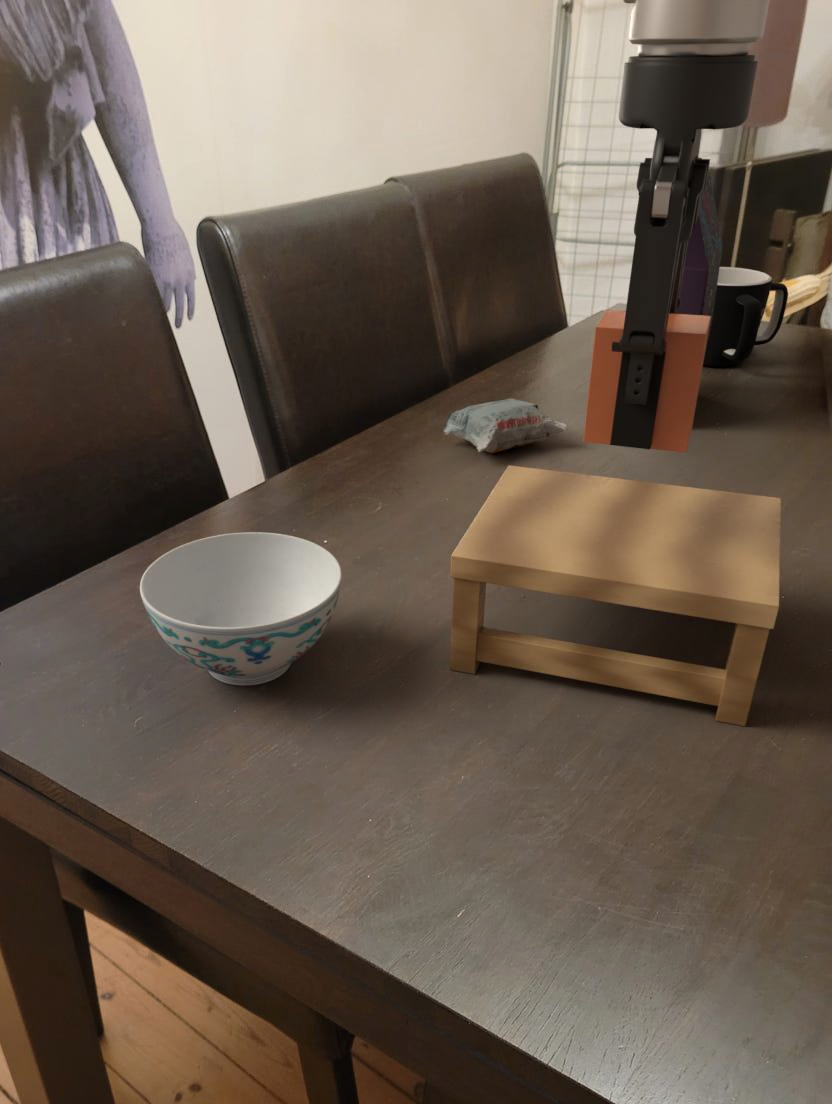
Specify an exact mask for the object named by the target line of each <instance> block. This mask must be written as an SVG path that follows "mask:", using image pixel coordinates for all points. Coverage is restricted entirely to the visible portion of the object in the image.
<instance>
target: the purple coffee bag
mask: <svg viewBox="0 0 832 1104" xmlns="http://www.w3.org/2000/svg"><path fill="white" fill-rule="evenodd" d="M722 251H723V241H722V235H721V229H720V224H719V218H718V213H717V207H716V201H715V195H714V189H713V184H712V178H711V173H710V170H709V171H708V178H707V181H706V185H705V188H704V190H703V192H702V194H701V197H700V203H699V210H698V217H697V221H696V225H695V228H694V229H693V231H692V234H691V237H690V238H689V240H688V246H687V252H686V259H685V265H684V271H683V278H682V284H681V290H680V296H679V297H680V299H681V302H680V306H679V307H678V309H677V311H676V314H687V315H703V316H711V320H710V326H709V332H708V338H707V343H708V339H709V334H710V329H711V325H712V318H713V311H714V304H715V297H716V289H717V282H718V275H719V268H720V267H721V259H722V254H723V253H722ZM707 343H706V348H707ZM705 352H706V349H705ZM704 357H705V355H704ZM703 362H704V361H703Z"/></svg>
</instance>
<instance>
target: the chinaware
mask: <svg viewBox="0 0 832 1104" xmlns="http://www.w3.org/2000/svg"><path fill="white" fill-rule="evenodd" d="M342 578H343V573H342V569H341V565H340V563H339V562H338V560H337V558H336V557H335V556H334V555H333V554H332V553H331V552H330V551H328V550H327V549H325V548H324V547H323V546H321V545H319V544H317V543H315V542H312V541H310V540H307V539H305V538H302V537H297V536H293V535H289V534H282V533H274V532H263V531H259V532H258V531H250V532H249V531H248V532H247V531H246V532H232V533H224V534H223V533H222V534H217V535H212V536H208V537H204V538H200V539H196V540H192V541H190V542H187V543H184V544H182V545H180V546H177V547H175V548H173V549H171V550H169V551H167V552H166V553H164V554H162V555H161V556H160V557H158V558H156V559H155V560H154V561H153V562H152V563H151V564H150V565H149V566H148V567H147V568H146V570H145V571H144V573H143V574H142V576H141V578H140V583H139V594H140V597H141V601H142V603H143V606H144V608H145V610H146V613H147V615H148V617H149V619H150V621H151V623H152V624H153V626H154V628H155V629H156V631H157V632H158V634H159V636H160V637H161V638H162V639H163V640H164V642H165V643H166V644H167V645H168V646H169V647H170V648H171V649H172V650H173V651H174V652H175V653H177V654H178V655H179V656H180V657H182V658H183V659H184V660H186V661H188V662H189V663H191V664H192V665H194V666H196V667H197V668H201V669H202V670H205V671H208V673H209V674H210V675H211V677H213V679H216V680H218V681H219V682H221V683H224V684H228V685H233V686H257V685H262V684H265V683H268V682H271V681H273V680H275V679H277V678H280V676H282V675H284V673H286V672H287V671H288V670H289V668H290V666H291V664H292V663H293V662H295V661H297V660H298V659H299V658H301V657H302V656H303V655H304V654H306V653H307V652H308V651H309V650H311V648H312V647H313V646H314V645H315V644H316V643H317V641H318V640H319V638H321V636H322V635H323V633H324V632H325V630H326V629H327V627H328V625H329V624H330V621H331V620H332V617H333V615H334V612H335V609H336V606H337V604H338V600H339V596H340V593H341V586H342V581H343V580H342Z"/></svg>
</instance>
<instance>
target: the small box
mask: <svg viewBox="0 0 832 1104" xmlns="http://www.w3.org/2000/svg"><path fill="white" fill-rule="evenodd" d="M625 313H626V310H618V309H606V311H604V314H603V315H602V317H601V318H600V320H599V321H598V323H597V324H596V326H595V329H594V339H593V347H592V356H591V357H592V358H591V365H590V374H589V384H588V394H587V403H586V410H585V411H586V412H585V422H584V430H583V443H589V444H590V443H591V444H601V445H608V446H609V445H610V441H611V434H612V426H613V419H614V411H615V404H616V396H617V389H618V381H619V374H620V366H621V359H622V352H613V351H612V342H620V338H621V335H622V334H623V328H624V321H625ZM710 320H711V316H703V315H686V314H670V313H669V319H668V325H667V331H666V337H665V339H666V340H665V342H667V343H666V349H665V350H664V351H666V355H665V362H664V368H663V374H662V381H661V387H660V393H659V400H658V406H657V412H656V419H655V425H654V432H653V438H652V444H651V448H650V449H649V450H657V451H666V452H667V451H668V452H677V453H687V451H688V446H689V442H690V438H691V434H692V432H693V431H692V430H693V426H694V419H695V413H696V408H697V403H698V396H699V390H700V384H701V379H702V373H703V367H704V365H703V361H704V355H705V349H706V343H707V338H708V332H709V326H710ZM610 446H611V445H610Z"/></svg>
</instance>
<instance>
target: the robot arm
mask: <svg viewBox="0 0 832 1104" xmlns="http://www.w3.org/2000/svg"><path fill="white" fill-rule="evenodd" d="M622 1H623V3H625V4H635V5H634V7H633V8H632V9H631V13H630V14H631V16H630V22H629V32H628V41H629V42H630V43H631V45H637V55H633V56H629V57H628V59H627V62H624V66H623V74H622V81H621V90H620V91H621V92H620V98H619V99H620V102H619V109H618V120H619V122H620V123H621V124H622V125H623V126H624V127H628V128H633V129H641V130H643V129H644V130H645V129H651V130H655V131H656V135H655V141H654V145H653V150H652V151H653V152H652V156H651V157H645V158H644V160H643V161H644V162H643V161H642V162H639V163H640V164H639V168H638V173H637V179H636V190H637V192H638V200H637V207H636V213H635V219H634V224H633V225H634V226H633V233H634V236H635V239H634V247H633V254H632V262H631V269H630V277H629V278H630V279H629V282H628V283H629V285H628V291H627V292H628V293H627V299H626V306H625V311H626V313H625V321H624V328H623V334H622V335H621V338H620V342H612V351H613V352H622V359H621V366H620V374H619V381H618V389H617V396H616V404H615V411H614V419H613V426H612V434H611V441H610V446H615V447H623V448H633V449H641V450H642V449H643V450H651V449H650V448H651V444H652V438H653V432H654V425H655V419H656V412H657V406H658V400H659V393H660V387H661V381H662V374H663V368H664V362H665V355H666V351H664V350H665V349H666V343H667V342H665V340H666V339H665V337H666V331H667V325H668V319H669V313H670V314H676V311H677V309H678V307H679V306H680V302H681V299H680V297H679V296H680V290H681V284H682V278H683V271H684V265H685V259H686V252H687V246H688V240H689V238H690V237H691V234H692V231H693V229H694V228H695V225H696V221H697V217H698V210H699V203H700V197H701V194H702V192H703V190H704V188H705V185H706V181H707V178H708V171H710V163H711V159H710V158H702V157H699V155H700V147H701V141H702V131H703V130H723V129H724V130H725V129H731V128H733V129H734V128H737V127H740V126H742V125H743V124H744V123H745V122H746V121H747V120H748V117H749V113H750V107H751V102H752V96H753V91H754V86H755V79H756V73H757V70H758V69H757V68H758V63H759V61H758V60H755V59H756V55H755V54H750V50H751V45H752V43H758V42H760V41H761V39H763V38H764V34H765V30H766V23H767V18H768V13H769V7H770V2H771V0H622ZM686 315H687V314H686Z"/></svg>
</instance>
